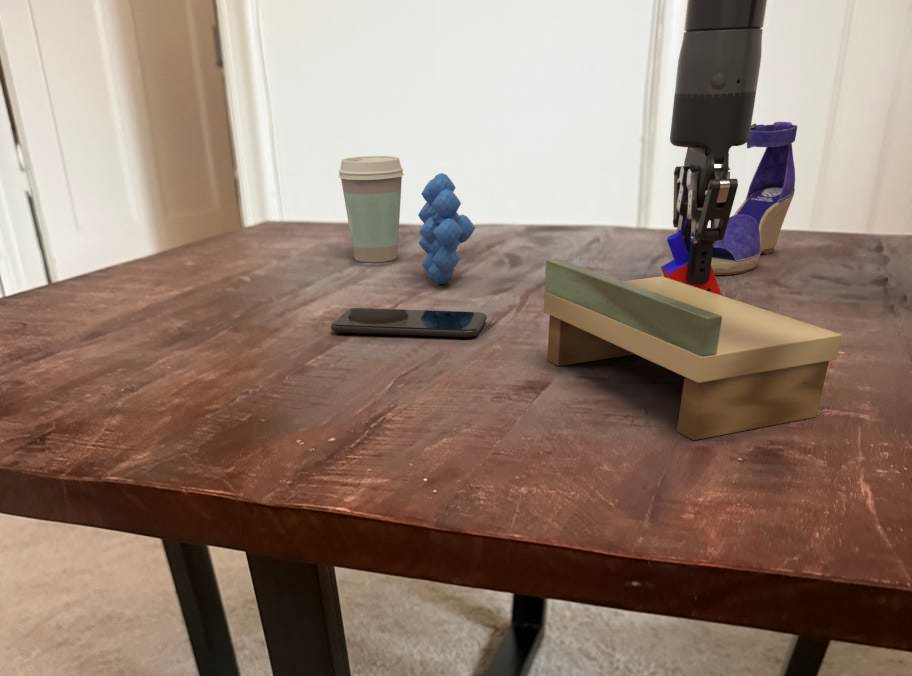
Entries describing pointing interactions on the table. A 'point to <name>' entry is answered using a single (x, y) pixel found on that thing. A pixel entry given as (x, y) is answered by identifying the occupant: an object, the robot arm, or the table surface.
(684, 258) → the toy building block
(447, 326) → the smartphone
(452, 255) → the grapes
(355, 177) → the coffee cup
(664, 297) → the shoe shelf
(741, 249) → the sandal
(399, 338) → the table surface
